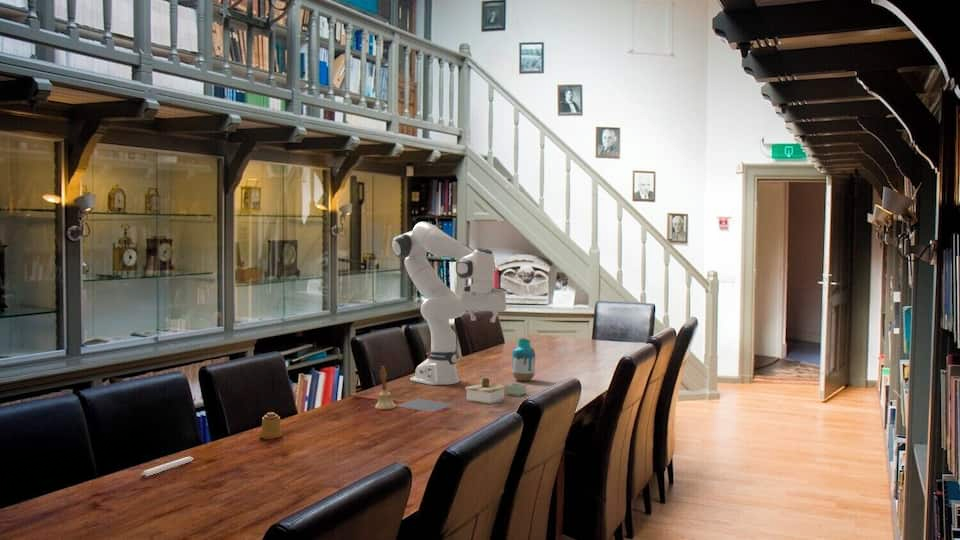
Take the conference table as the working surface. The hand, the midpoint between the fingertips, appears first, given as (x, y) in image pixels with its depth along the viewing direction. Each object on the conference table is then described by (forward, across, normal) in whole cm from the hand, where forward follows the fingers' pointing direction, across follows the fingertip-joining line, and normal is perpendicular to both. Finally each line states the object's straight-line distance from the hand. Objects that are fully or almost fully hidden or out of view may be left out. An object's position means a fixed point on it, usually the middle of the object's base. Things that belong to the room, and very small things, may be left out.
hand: (483, 321), depth 334 cm
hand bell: (+31, +19, +40) cm, 54 cm away
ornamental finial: (+32, +23, +95) cm, 103 cm away
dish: (+31, -6, +7) cm, 32 cm away
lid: (+26, -6, +7) cm, 28 cm away
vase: (+31, +2, -39) cm, 50 cm away
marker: (+32, +21, +136) cm, 141 cm away
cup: (+31, -10, -11) cm, 34 cm away
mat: (+31, +8, +29) cm, 43 cm away
